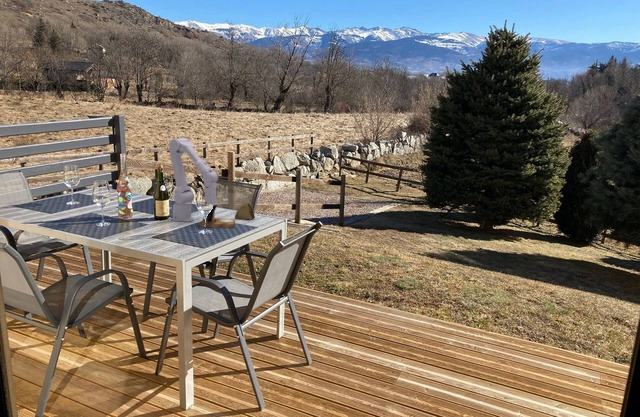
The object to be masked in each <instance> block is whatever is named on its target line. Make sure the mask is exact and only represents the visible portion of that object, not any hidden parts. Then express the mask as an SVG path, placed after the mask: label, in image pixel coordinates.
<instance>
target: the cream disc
mask: <svg viewBox="0 0 640 417" xmlns="http://www.w3.org/2000/svg"><path fill="white" fill-rule="evenodd" d="M233 219H234V218H222V219H221V220H220V222H222V223H232V222H233Z"/></svg>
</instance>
